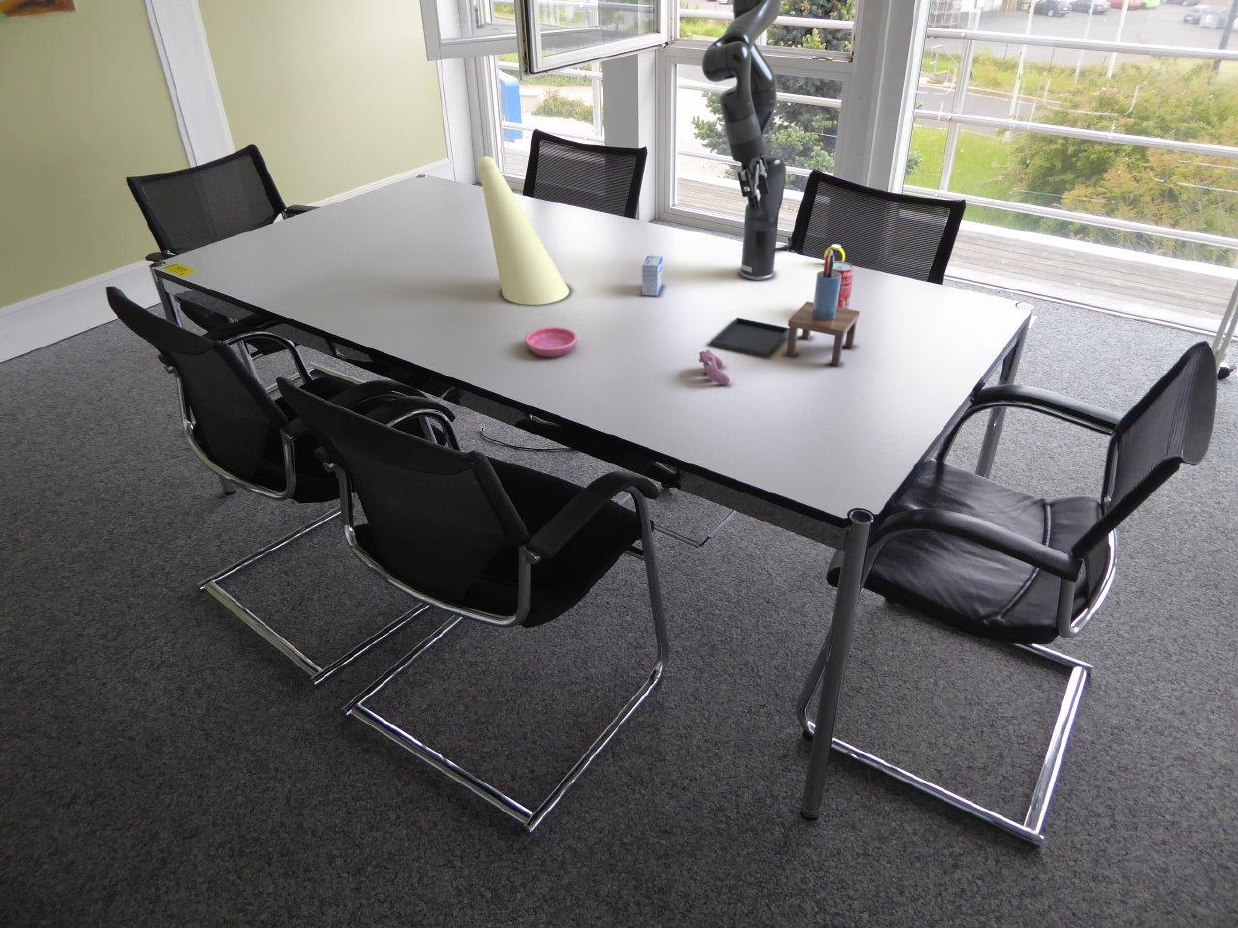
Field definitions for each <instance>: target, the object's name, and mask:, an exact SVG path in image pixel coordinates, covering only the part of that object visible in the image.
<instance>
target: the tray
mask: <svg viewBox="0 0 1238 928" xmlns="http://www.w3.org/2000/svg"><path fill="white" fill-rule="evenodd" d="M788 336H789V327H786V326H780V325H776V324H771V323H766V322H761V321H755V320H751V319H745V318H741V317H736V318H735V319H734V320H733V321H732V322H731V323H729V324H728V325H727V327H725V328H724V329H723V330H722V331H721V332H720V333H718V335H716V336H715V337H714V338H713V339H712V340H711V341H710V342H711V343H710V346H712V347H716V348H720V349H725V350H731V351H735V352H738V353H743V354H747V355H752V356H758V357H762V358H768V357H769V356H770V355H771V354H772V352H773V351H774V350H776V348H777V347H778V346H779V345H780V344H781V343H782V342H783V341H784V340H785V338H786V337H788Z"/></svg>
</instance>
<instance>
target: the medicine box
mask: <svg viewBox="0 0 1238 928" xmlns="http://www.w3.org/2000/svg"><path fill="white" fill-rule="evenodd" d="M641 284H642V285H641V294H642V295H643V296H652V297H653V296H655V297H658V296H659V294H660V292H661V289H662V287H663V256H660V255H647V256H646V258H645V260H644V261H643V264H642V266H641Z"/></svg>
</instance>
